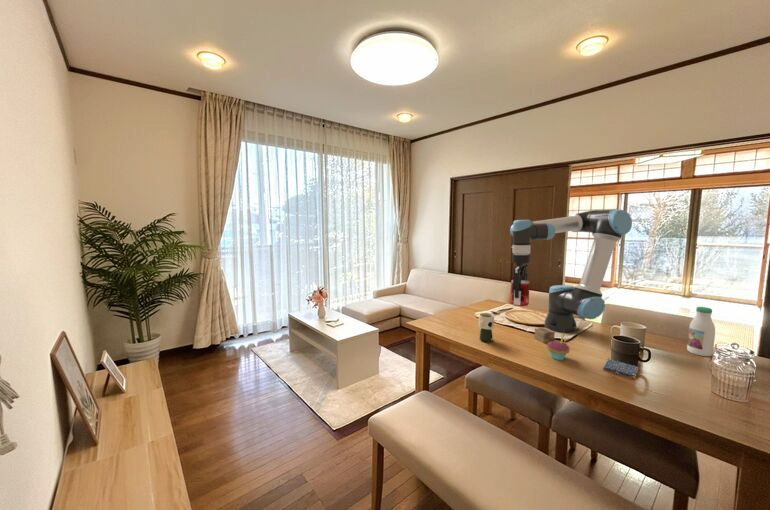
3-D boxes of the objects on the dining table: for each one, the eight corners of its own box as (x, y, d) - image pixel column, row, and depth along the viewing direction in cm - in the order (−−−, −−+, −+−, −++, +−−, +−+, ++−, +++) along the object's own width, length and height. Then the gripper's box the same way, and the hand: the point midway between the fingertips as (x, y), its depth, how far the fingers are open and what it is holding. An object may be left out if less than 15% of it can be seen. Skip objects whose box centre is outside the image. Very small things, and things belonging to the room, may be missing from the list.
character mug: (487, 345, 143) (488, 319, 141) (474, 341, 148) (474, 316, 146) (497, 338, 151) (498, 313, 149) (484, 334, 156) (484, 310, 154)
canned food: (525, 301, 143) (525, 278, 142) (531, 306, 135) (532, 282, 134) (508, 301, 144) (509, 279, 142) (514, 306, 136) (514, 282, 134)
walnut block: (545, 337, 151) (545, 327, 150) (554, 341, 145) (554, 331, 145) (534, 338, 150) (534, 328, 149) (543, 343, 144) (543, 333, 143)
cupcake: (567, 355, 131) (568, 328, 130) (570, 364, 124) (571, 336, 122) (545, 352, 135) (546, 326, 133) (546, 360, 127) (547, 333, 126)
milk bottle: (704, 349, 132) (709, 306, 129) (717, 357, 125) (722, 311, 122) (682, 347, 135) (687, 304, 132) (693, 355, 127) (698, 310, 125)
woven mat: (639, 370, 118) (639, 365, 118) (635, 381, 111) (635, 376, 110) (606, 361, 125) (606, 357, 125) (601, 371, 118) (601, 366, 118)
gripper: (519, 250, 147) (517, 296, 150) (505, 256, 131) (504, 306, 134) (535, 251, 142) (534, 298, 145) (523, 257, 126) (522, 309, 129)
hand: (519, 302), depth 139 cm, fingers closed on canned food, 8 cm apart
